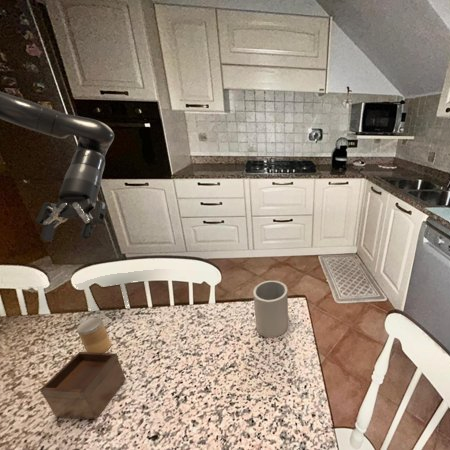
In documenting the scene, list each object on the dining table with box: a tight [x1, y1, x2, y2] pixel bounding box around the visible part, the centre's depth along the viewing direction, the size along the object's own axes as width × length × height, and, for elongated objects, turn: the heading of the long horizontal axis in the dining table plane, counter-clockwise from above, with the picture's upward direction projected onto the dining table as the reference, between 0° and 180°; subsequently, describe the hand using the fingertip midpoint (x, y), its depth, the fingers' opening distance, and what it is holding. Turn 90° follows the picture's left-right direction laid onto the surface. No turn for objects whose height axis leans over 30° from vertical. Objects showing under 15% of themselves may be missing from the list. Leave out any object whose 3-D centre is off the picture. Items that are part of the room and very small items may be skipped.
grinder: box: [76, 316, 112, 353], centre depth 61 cm, size 5×5×8 cm
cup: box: [252, 280, 289, 338], centre depth 68 cm, size 9×9×12 cm
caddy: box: [39, 351, 127, 420], centre depth 50 cm, size 8×8×8 cm
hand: (65, 239), depth 61 cm, fingers open, 8 cm apart
